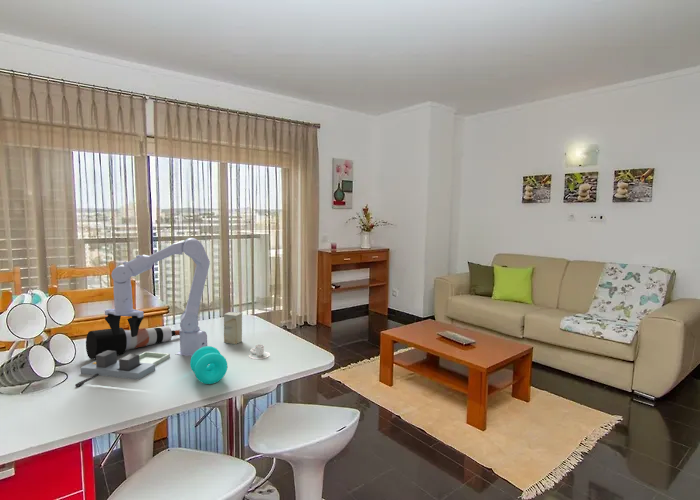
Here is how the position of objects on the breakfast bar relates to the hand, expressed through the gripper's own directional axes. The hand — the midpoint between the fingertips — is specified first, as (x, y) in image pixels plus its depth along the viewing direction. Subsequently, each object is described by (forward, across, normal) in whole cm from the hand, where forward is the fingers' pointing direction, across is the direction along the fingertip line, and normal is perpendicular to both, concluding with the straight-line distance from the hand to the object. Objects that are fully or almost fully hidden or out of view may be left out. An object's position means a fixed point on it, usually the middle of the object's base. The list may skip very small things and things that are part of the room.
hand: (125, 335), depth 145 cm
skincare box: (+10, +28, +27) cm, 40 cm away
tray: (+9, +9, 0) cm, 13 cm away
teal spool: (+10, +38, -8) cm, 40 cm away
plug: (+10, +10, -10) cm, 17 cm away
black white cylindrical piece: (+10, -5, +12) cm, 16 cm away
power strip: (+9, +5, -14) cm, 18 cm away
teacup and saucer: (+10, +45, +19) cm, 50 cm away
